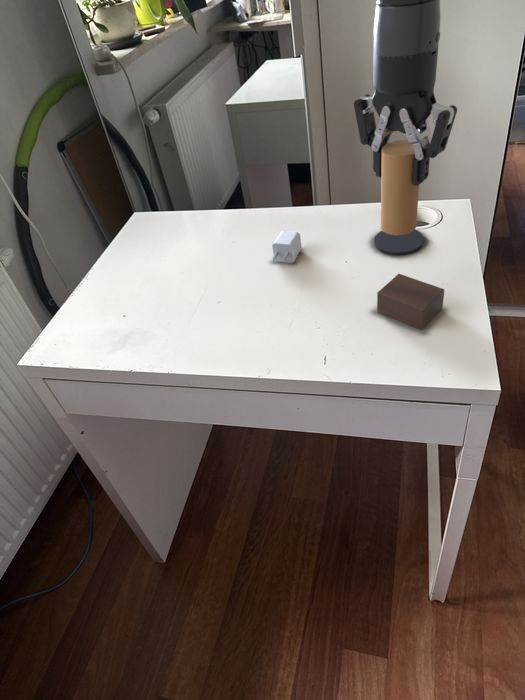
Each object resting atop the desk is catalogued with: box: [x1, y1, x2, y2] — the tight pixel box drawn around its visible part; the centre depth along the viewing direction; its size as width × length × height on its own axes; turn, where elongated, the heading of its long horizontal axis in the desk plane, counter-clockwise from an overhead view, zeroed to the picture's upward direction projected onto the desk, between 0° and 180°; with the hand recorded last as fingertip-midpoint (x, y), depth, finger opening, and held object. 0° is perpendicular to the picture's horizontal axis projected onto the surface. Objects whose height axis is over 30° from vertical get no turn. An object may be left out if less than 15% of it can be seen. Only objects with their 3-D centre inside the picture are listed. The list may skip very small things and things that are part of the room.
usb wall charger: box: [271, 230, 302, 264], centre depth 97 cm, size 4×7×4 cm, turn 158°
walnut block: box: [376, 273, 445, 331], centre depth 81 cm, size 6×8×4 cm
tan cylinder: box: [380, 139, 420, 235], centre depth 75 cm, size 12×5×12 cm
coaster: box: [373, 229, 425, 256], centre depth 97 cm, size 9×9×1 cm
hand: (399, 178), depth 73 cm, fingers closed on tan cylinder, 5 cm apart
